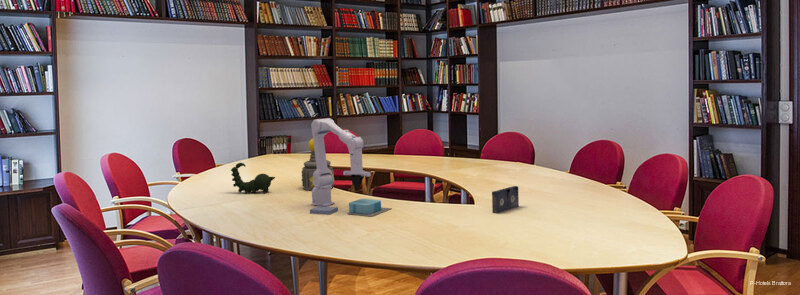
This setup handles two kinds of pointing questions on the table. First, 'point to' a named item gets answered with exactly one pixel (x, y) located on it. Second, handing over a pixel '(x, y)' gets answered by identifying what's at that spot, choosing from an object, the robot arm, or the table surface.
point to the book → (323, 210)
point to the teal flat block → (365, 206)
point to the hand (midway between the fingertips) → (357, 190)
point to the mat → (372, 213)
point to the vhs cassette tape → (505, 199)
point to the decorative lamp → (311, 169)
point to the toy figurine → (254, 185)
